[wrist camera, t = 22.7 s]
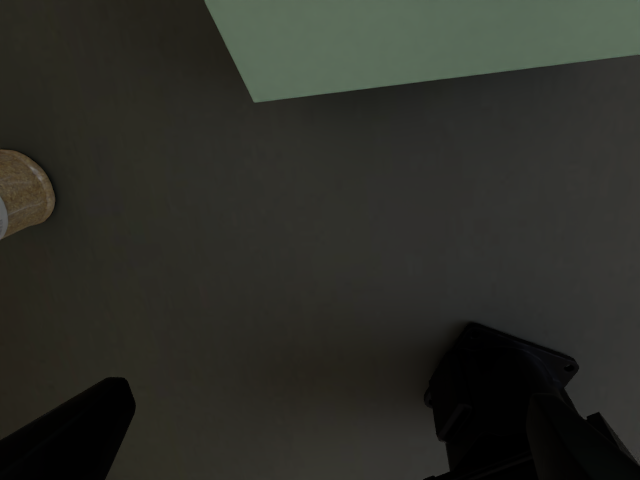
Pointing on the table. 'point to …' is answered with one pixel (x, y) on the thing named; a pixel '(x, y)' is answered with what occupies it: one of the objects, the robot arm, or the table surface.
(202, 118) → the table surface
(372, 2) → the green box lid
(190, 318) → the table surface
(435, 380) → the robot arm
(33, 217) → the spice jar
